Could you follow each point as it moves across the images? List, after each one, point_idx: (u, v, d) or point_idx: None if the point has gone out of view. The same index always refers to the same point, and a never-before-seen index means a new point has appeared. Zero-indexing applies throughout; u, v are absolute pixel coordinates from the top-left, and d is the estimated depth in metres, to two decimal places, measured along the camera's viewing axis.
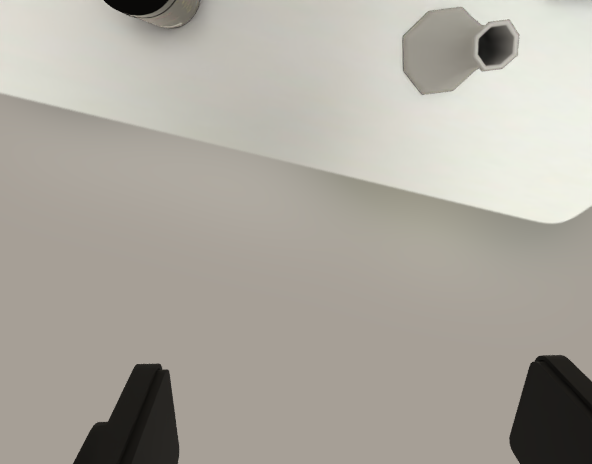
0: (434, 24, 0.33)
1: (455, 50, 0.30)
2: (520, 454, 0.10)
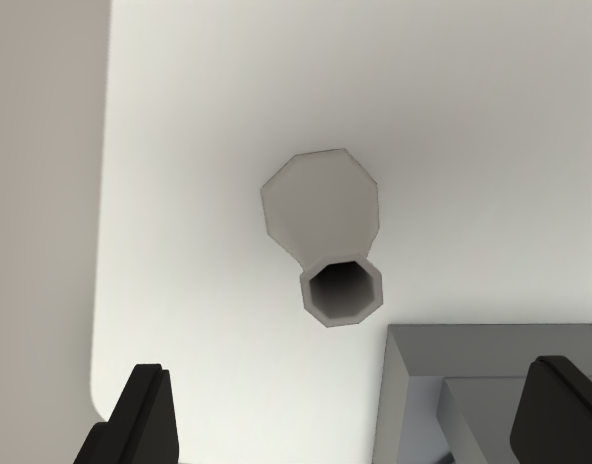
0: (362, 191, 0.21)
1: (330, 225, 0.18)
2: (520, 454, 0.10)
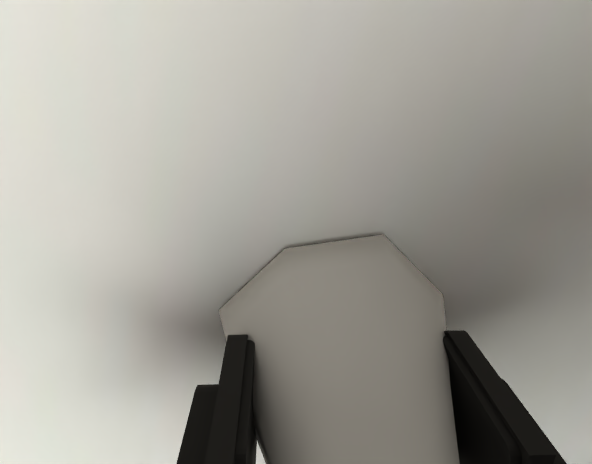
0: (429, 339, 0.10)
1: None
2: None
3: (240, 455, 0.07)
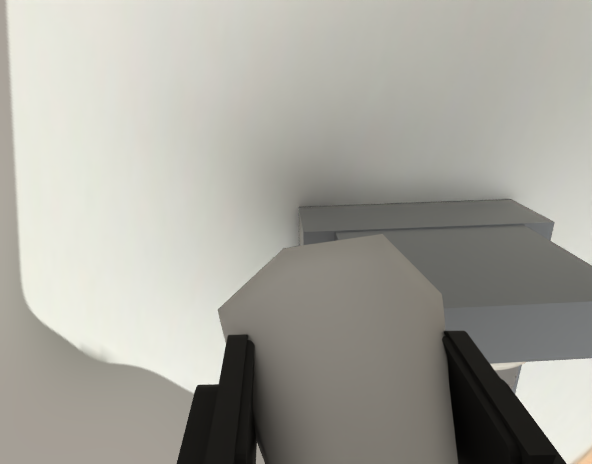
0: (428, 338, 0.10)
1: None
2: None
3: (240, 455, 0.07)
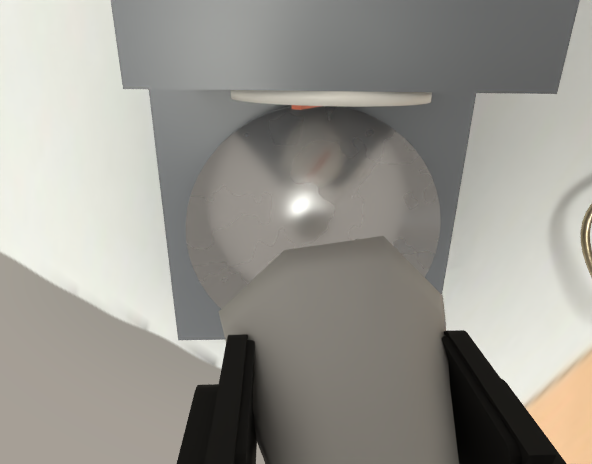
0: (429, 340, 0.10)
1: None
2: None
3: (240, 455, 0.07)
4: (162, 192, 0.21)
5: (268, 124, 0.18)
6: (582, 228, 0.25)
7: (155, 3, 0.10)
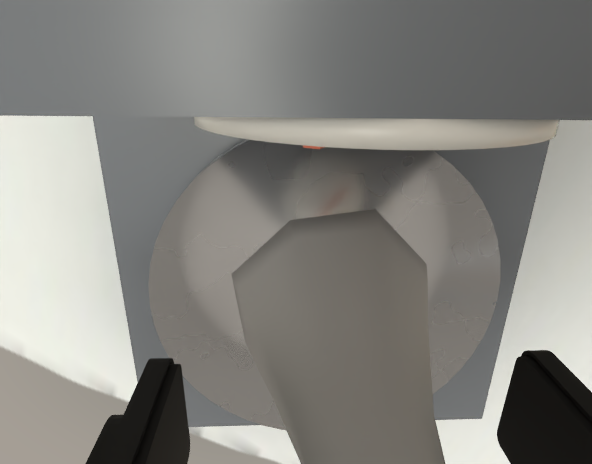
0: (412, 294, 0.12)
1: (369, 409, 0.08)
2: (507, 448, 0.11)
3: None
4: (116, 242, 0.15)
5: (263, 150, 0.13)
6: None
7: None
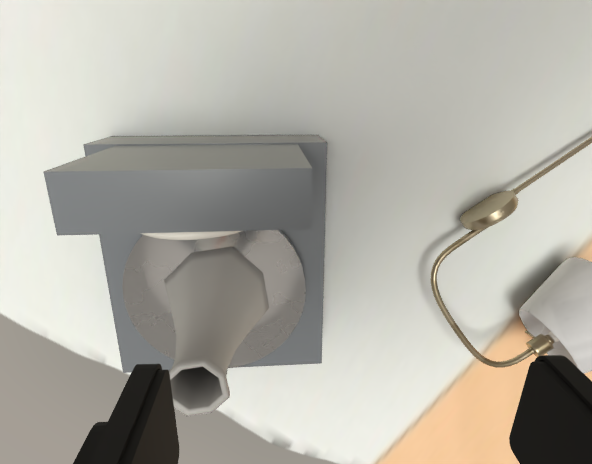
0: (242, 286, 0.26)
1: (200, 326, 0.22)
2: (520, 454, 0.10)
3: None
4: (105, 265, 0.29)
5: None
6: (431, 278, 0.34)
7: (72, 192, 0.18)
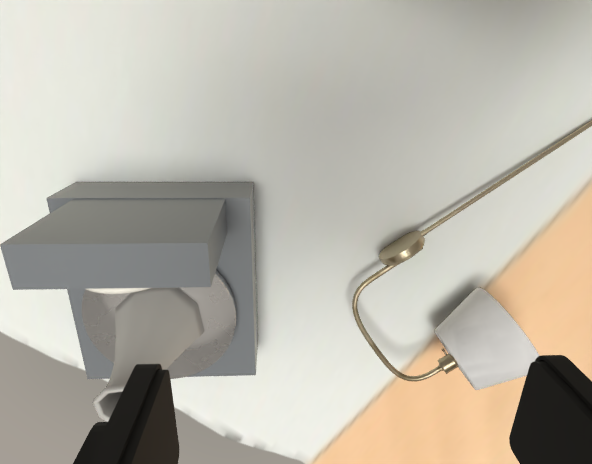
0: (175, 318, 0.31)
1: (132, 355, 0.28)
2: (520, 454, 0.10)
3: None
4: (69, 293, 0.35)
5: None
6: (352, 305, 0.39)
7: (23, 259, 0.24)
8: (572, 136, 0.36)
